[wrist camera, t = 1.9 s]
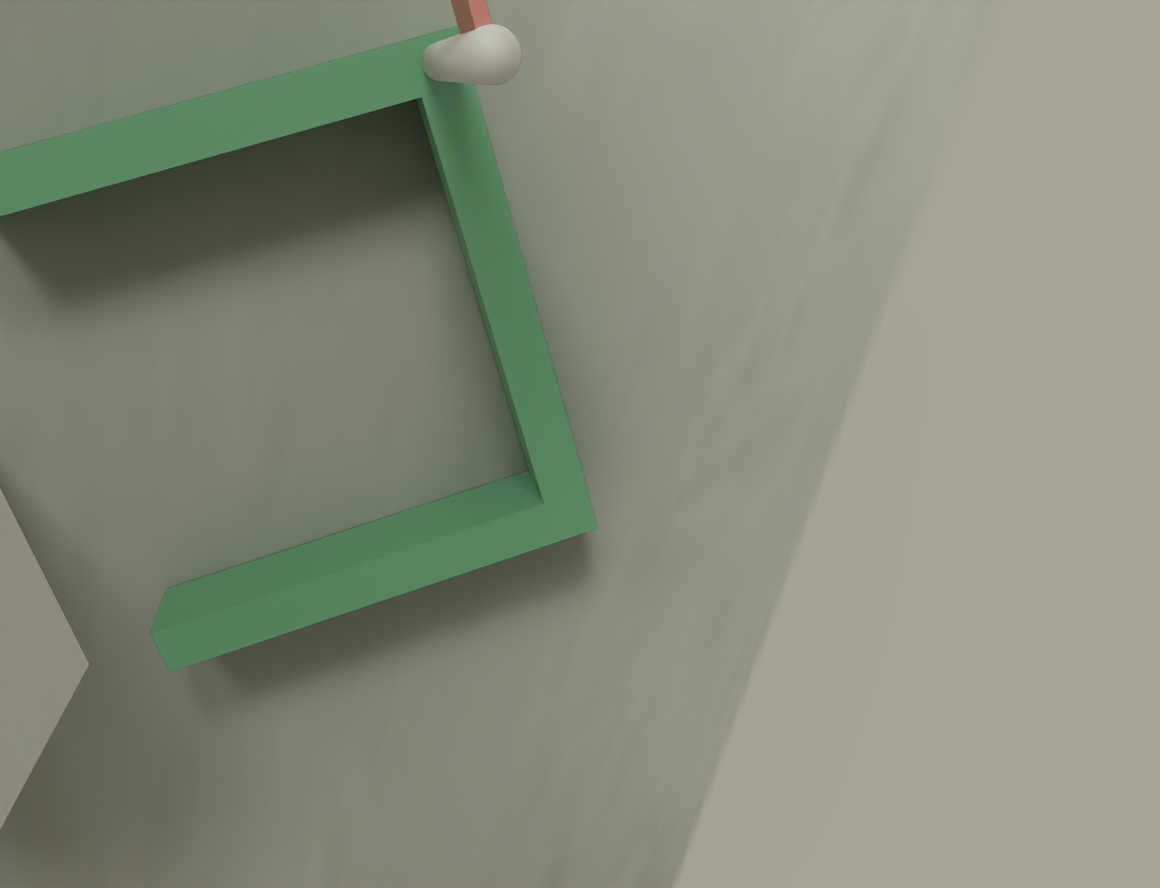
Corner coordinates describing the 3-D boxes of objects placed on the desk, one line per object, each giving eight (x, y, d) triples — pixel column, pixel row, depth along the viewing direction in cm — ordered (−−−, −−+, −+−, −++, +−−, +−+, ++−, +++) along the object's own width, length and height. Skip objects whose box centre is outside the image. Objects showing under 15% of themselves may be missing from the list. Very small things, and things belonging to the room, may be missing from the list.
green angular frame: (-106, 29, 27) (-504, -11, 15) (409, -105, 29) (460, -248, 16) (183, 625, 35) (88, 945, 22) (579, 494, 36) (705, 721, 24)
